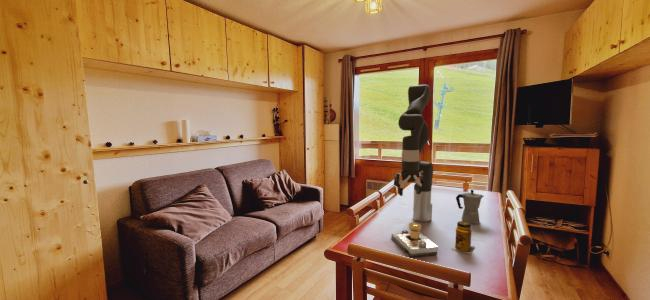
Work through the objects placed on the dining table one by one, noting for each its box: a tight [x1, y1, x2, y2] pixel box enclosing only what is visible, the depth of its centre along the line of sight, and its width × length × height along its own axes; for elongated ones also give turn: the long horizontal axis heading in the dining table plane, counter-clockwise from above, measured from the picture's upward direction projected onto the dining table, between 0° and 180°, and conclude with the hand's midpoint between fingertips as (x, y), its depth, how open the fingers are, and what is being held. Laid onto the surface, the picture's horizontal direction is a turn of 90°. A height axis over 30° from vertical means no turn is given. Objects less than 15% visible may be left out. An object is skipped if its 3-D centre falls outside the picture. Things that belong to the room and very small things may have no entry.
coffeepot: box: [455, 189, 484, 225], centre depth 152 cm, size 15×9×18 cm, turn 92°
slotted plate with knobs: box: [391, 229, 439, 258], centre depth 123 cm, size 12×20×6 cm, turn 10°
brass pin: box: [408, 222, 422, 241], centre depth 123 cm, size 5×5×10 cm
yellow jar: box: [452, 220, 475, 255], centre depth 120 cm, size 7×8×12 cm
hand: (409, 194), depth 124 cm, fingers open, 8 cm apart
